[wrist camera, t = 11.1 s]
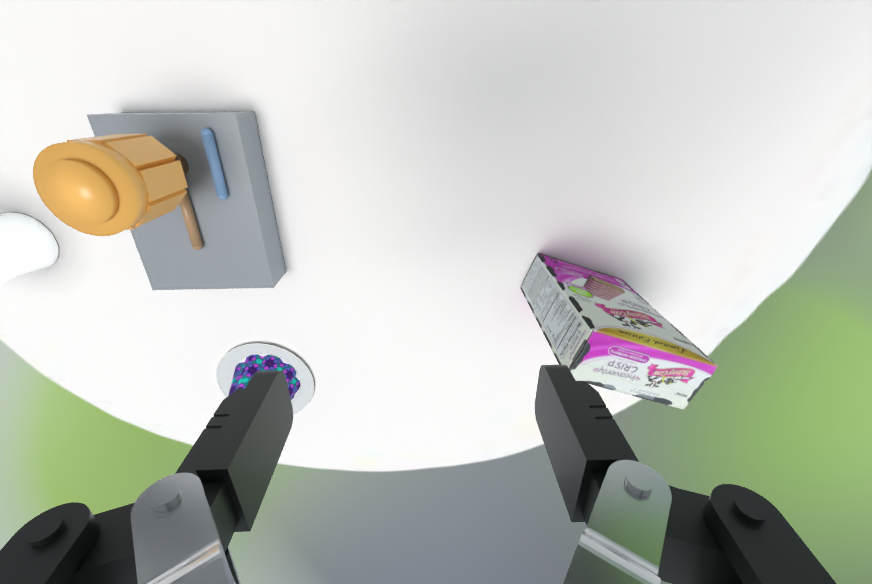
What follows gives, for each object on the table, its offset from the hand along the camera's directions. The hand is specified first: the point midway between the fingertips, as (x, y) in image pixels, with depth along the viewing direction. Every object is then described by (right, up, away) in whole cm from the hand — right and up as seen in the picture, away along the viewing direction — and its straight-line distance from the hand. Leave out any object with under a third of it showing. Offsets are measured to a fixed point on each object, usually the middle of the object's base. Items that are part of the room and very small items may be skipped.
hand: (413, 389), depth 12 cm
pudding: (-21, -8, +38) cm, 44 cm away
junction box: (-22, +12, +27) cm, 37 cm away
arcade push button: (-22, +12, +18) cm, 30 cm away
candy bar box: (+16, +4, +32) cm, 36 cm away
